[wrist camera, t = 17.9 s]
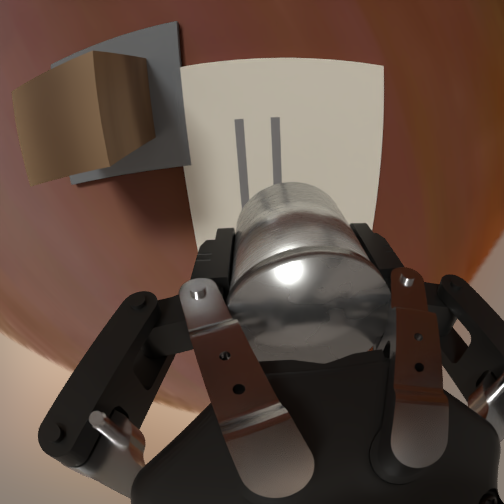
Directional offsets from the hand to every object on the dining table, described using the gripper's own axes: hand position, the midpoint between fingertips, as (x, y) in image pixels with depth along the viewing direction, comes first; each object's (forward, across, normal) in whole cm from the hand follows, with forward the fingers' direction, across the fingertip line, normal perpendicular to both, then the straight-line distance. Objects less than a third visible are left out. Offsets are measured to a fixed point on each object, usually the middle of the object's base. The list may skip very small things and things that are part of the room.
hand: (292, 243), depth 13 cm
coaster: (+6, +10, -7) cm, 13 cm away
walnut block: (+5, +10, -7) cm, 13 cm away
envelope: (+6, 0, 0) cm, 6 cm away
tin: (+1, 0, 0) cm, 1 cm away
